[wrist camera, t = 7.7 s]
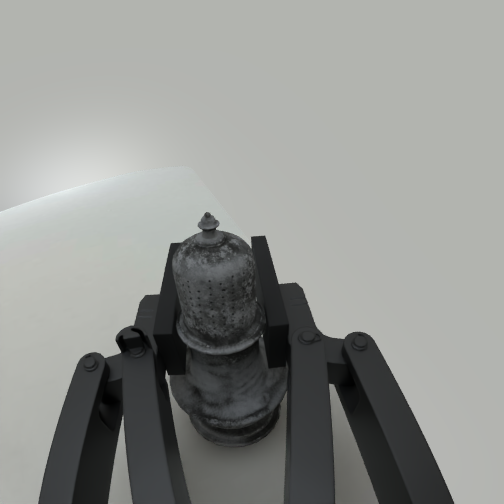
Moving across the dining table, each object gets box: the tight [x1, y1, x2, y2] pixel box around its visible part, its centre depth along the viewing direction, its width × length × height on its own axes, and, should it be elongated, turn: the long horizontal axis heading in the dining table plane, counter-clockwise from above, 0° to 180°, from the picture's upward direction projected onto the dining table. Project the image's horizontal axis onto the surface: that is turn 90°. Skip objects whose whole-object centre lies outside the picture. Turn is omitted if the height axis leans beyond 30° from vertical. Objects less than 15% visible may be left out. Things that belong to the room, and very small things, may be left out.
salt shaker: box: [170, 212, 288, 447], centre depth 13 cm, size 6×6×12 cm
